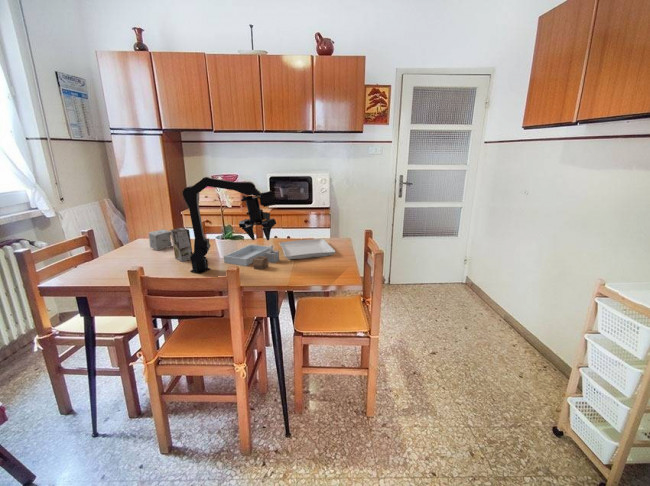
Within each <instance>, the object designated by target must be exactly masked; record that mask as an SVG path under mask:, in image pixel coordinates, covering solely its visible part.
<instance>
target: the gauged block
mask: <svg viewBox="0 0 650 486" xmlns="http://www.w3.org/2000/svg"><path fill="white" fill-rule="evenodd" d="M269 247H270V251H268V252H266V253H265V257H268V264H269V263H270V264H276V263H277V262H279V261H280V251H279V250H274V244H270V245H269Z"/></svg>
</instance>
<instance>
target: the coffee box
mask: <svg viewBox="0 0 650 486" xmlns="http://www.w3.org/2000/svg"><path fill="white" fill-rule="evenodd" d="M169 231H170V232H171V235H170V238H171V243H172V247H173V248H172V249H173V251H174V259H175V258H176V259H175V260H177V261H179V262H187V261H191V259H190V257H191V255H192V254H193V248H192V247H193V246H192V241H191V240H192V239H191V235H190V229H187V228H184V227H177V228H174V229H170V230H169Z"/></svg>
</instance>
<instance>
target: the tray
mask: <svg viewBox="0 0 650 486" xmlns="http://www.w3.org/2000/svg"><path fill="white" fill-rule="evenodd" d="M268 251H270V246H266V245H258V244H248V245H245V246H243V247H241V248H239V249H237V250H235V251H231V252H230V253H228V254H225V255H223V262H224V263H226V264H230V265H236V266H243V267H248V266H250V265H251V264H252V265H253V259H254V258H256V257H258V256H263V257H265V253H266V252H268Z"/></svg>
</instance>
